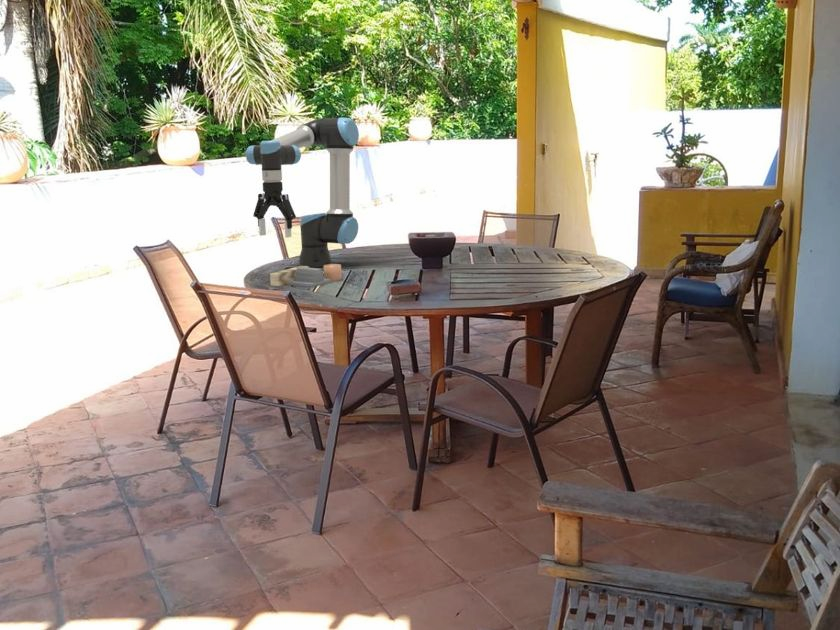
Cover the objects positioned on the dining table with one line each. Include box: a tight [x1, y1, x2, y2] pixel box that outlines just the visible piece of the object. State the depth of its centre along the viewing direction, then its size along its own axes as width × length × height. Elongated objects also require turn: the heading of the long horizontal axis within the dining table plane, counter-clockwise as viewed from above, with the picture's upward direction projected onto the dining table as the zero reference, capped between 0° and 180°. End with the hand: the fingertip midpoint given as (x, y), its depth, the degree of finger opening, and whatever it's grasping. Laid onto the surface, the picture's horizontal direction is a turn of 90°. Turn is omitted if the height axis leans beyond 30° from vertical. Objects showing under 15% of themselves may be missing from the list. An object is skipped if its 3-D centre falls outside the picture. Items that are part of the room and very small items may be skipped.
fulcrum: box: [287, 267, 332, 288], centre depth 320 cm, size 12×12×6 cm
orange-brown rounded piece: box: [323, 263, 343, 282], centre depth 327 cm, size 7×7×6 cm
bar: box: [269, 265, 309, 287], centre depth 325 cm, size 20×4×5 cm, turn 151°
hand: (275, 236), depth 316 cm, fingers open, 13 cm apart
